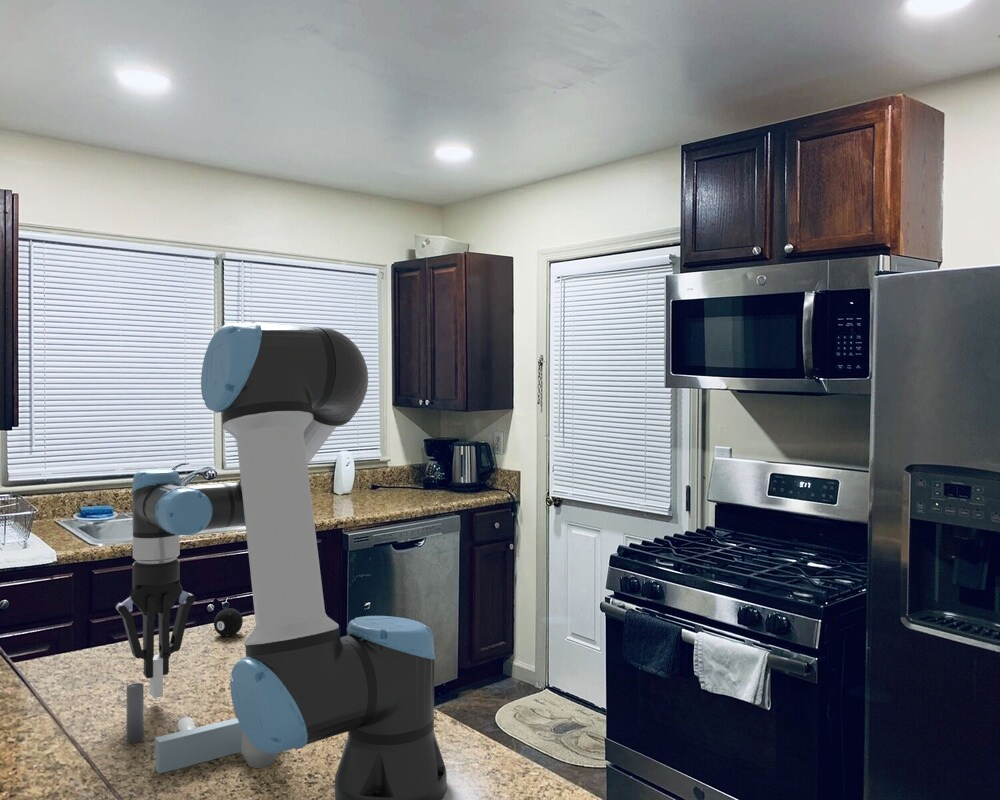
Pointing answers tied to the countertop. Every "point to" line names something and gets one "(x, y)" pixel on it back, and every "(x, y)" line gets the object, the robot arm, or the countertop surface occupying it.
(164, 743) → the board
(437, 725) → the countertop surface
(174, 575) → the robot arm
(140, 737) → the charcoal pin
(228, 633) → the billiard ball
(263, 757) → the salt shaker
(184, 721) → the white pin
